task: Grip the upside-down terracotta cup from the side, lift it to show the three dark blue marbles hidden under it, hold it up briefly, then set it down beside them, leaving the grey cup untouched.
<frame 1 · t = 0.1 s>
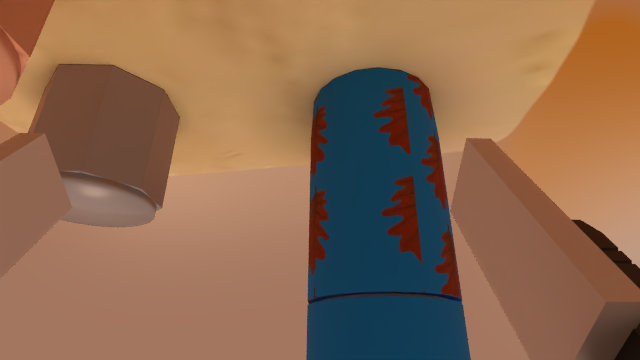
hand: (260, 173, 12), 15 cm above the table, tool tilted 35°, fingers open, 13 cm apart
cup grey: (116, 103, 34), on the table
thermos: (371, 105, 34), on the table
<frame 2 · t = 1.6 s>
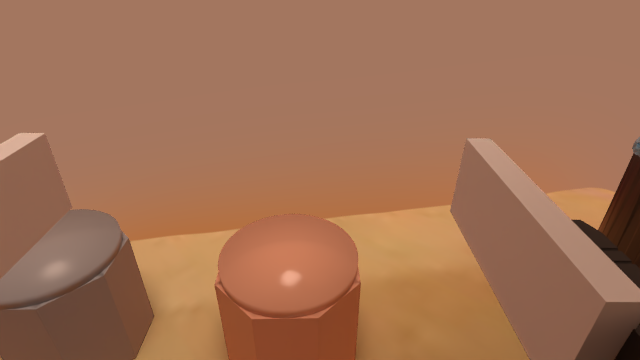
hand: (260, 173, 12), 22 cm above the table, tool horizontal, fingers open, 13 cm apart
cup terracotta: (293, 343, 32), on the table
cup grey: (87, 336, 33), on the table
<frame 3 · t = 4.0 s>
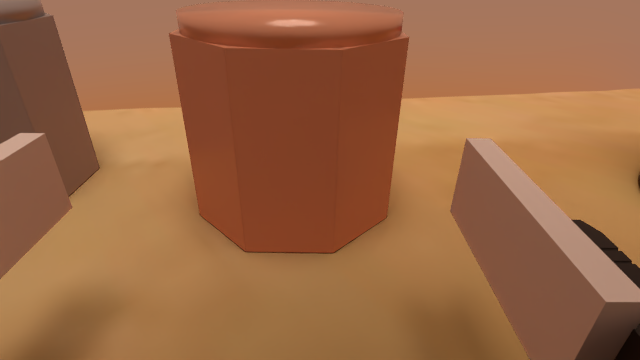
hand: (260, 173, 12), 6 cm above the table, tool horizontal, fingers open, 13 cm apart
cup terracotta: (295, 195, 22), on the table
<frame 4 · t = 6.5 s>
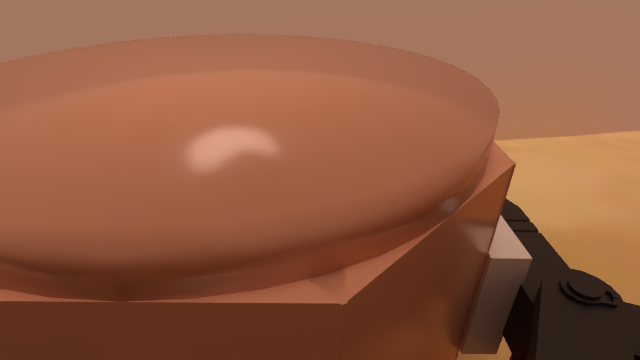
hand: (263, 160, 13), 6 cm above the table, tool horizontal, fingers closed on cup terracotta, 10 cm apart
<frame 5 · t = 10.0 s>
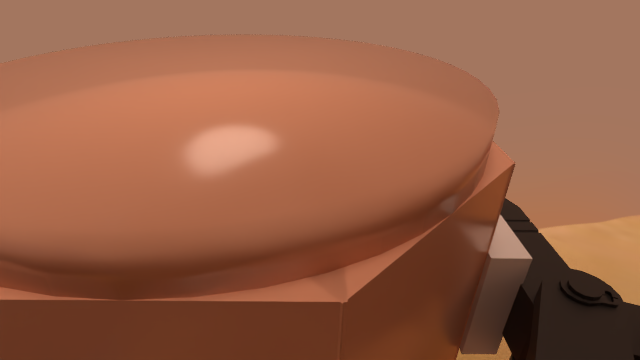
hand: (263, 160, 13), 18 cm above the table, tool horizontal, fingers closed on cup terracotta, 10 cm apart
when the fingers open (7 cm above the table, at t = 13.5 s): cup terracotta drops 1 cm, on the table.
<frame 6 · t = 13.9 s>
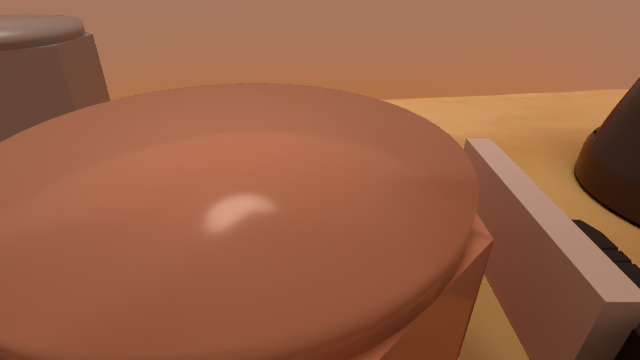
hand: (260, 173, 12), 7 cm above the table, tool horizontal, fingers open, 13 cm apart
cup grey: (44, 171, 28), on the table
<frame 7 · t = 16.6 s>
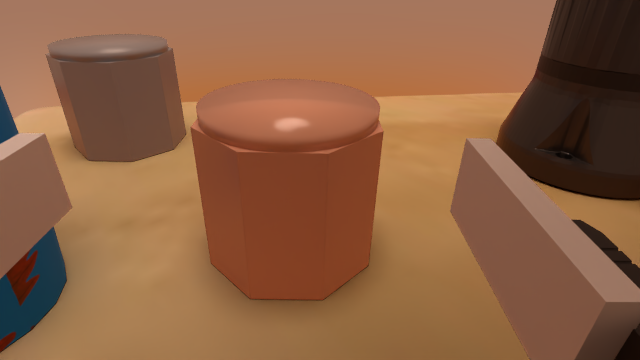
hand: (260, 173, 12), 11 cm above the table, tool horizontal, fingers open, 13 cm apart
cup terracotta: (291, 243, 26), on the table
cup grey: (133, 140, 41), on the table
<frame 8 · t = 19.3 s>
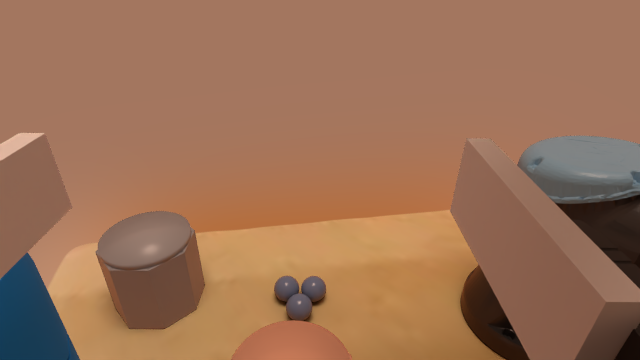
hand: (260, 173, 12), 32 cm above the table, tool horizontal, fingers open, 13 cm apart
cup grey: (162, 296, 49), on the table
marble a: (299, 316, 47), on the table
marble c: (287, 297, 50), on the table
marble b: (313, 297, 50), on the table
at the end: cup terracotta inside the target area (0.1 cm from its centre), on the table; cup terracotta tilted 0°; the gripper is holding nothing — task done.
